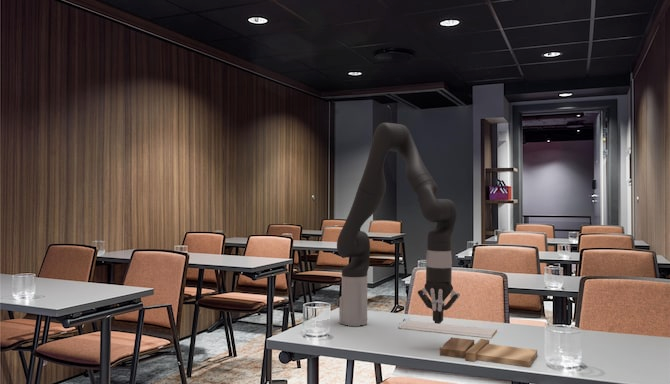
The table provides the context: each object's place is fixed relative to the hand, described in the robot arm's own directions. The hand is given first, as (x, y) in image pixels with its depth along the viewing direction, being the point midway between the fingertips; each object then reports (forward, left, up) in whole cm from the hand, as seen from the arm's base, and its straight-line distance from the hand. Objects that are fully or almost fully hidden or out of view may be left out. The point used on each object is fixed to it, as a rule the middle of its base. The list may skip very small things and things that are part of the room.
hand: (438, 323), depth 162 cm
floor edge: (+19, 0, -7) cm, 20 cm away
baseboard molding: (-4, +23, -8) cm, 25 cm away
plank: (+3, -1, -7) cm, 7 cm away
